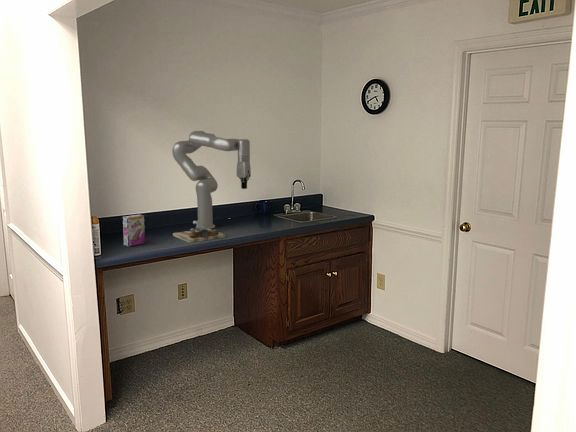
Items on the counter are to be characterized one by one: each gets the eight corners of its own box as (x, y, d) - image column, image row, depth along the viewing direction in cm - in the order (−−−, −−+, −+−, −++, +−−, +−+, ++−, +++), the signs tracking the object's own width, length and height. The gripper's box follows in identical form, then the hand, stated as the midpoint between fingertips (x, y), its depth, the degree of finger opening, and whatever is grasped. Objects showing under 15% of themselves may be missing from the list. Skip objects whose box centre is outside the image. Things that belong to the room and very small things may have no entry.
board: (189, 242, 282) (189, 240, 282) (172, 235, 300) (172, 233, 300) (226, 237, 297) (226, 234, 296) (208, 230, 314) (208, 228, 314)
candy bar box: (128, 247, 272) (127, 217, 269) (123, 245, 275) (121, 216, 272) (146, 243, 280) (144, 215, 277) (140, 242, 283) (139, 214, 280)
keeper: (202, 238, 287) (202, 230, 286) (195, 235, 294) (195, 227, 293) (207, 237, 289) (207, 229, 289) (201, 234, 296) (200, 227, 295)
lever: (191, 238, 286) (191, 230, 285) (188, 236, 289) (188, 228, 288) (218, 234, 296) (218, 226, 295) (215, 232, 300) (215, 225, 299)
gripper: (232, 158, 310) (232, 187, 314) (245, 160, 299) (245, 190, 302) (242, 158, 315) (242, 186, 318) (255, 159, 303) (255, 189, 306)
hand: (244, 188), depth 310 cm, fingers closed
